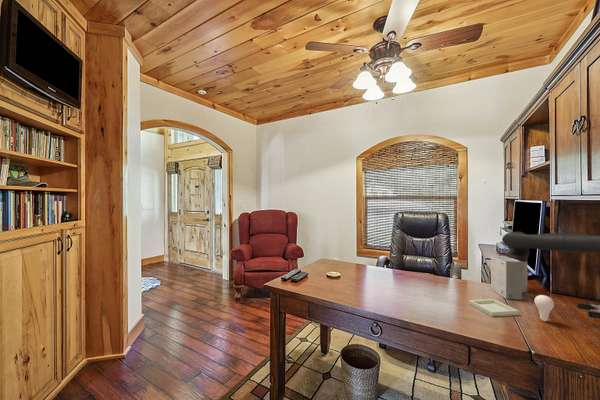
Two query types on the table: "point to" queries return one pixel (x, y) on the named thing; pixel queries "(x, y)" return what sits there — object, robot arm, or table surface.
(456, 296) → the table surface
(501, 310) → the tray
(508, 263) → the hard drive box
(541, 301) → the lightbulb
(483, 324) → the table surface
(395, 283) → the table surface
